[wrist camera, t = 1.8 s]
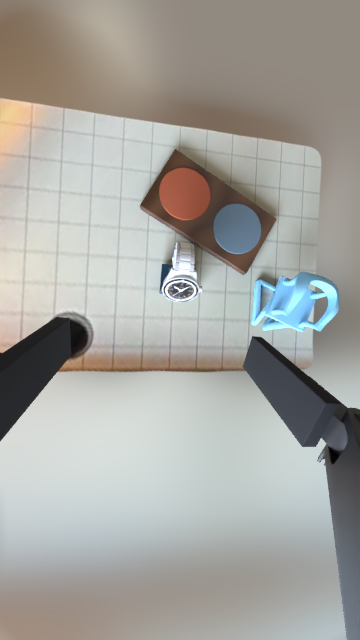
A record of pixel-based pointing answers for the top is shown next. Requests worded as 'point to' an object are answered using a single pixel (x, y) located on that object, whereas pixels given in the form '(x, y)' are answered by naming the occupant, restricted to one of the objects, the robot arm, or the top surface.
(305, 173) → the top surface
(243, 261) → the desk board
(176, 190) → the terracotta pad
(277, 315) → the chair
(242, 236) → the slate pad
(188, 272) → the watch
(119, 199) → the top surface
